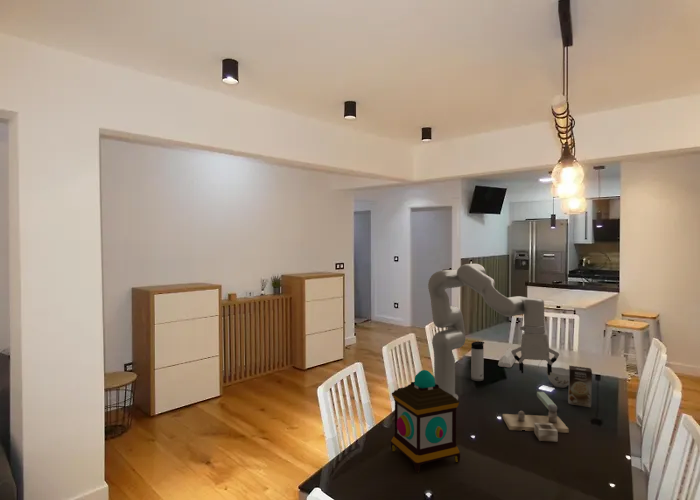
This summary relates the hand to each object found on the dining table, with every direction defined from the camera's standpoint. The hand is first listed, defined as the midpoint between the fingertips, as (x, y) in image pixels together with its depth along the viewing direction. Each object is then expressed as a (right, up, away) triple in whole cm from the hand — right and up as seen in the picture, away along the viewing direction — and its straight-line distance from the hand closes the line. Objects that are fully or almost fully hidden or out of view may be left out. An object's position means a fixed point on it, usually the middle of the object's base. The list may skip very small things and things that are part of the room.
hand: (535, 373), depth 174 cm
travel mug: (-5, -20, +61) cm, 64 cm away
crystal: (+22, -20, +92) cm, 96 cm away
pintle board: (+1, -22, +4) cm, 22 cm away
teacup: (+34, -21, +51) cm, 65 cm away
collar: (+1, -22, -7) cm, 23 cm away
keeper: (+9, -15, +10) cm, 20 cm away
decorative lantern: (-47, -23, -22) cm, 57 cm away
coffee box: (+31, -21, +26) cm, 46 cm away
